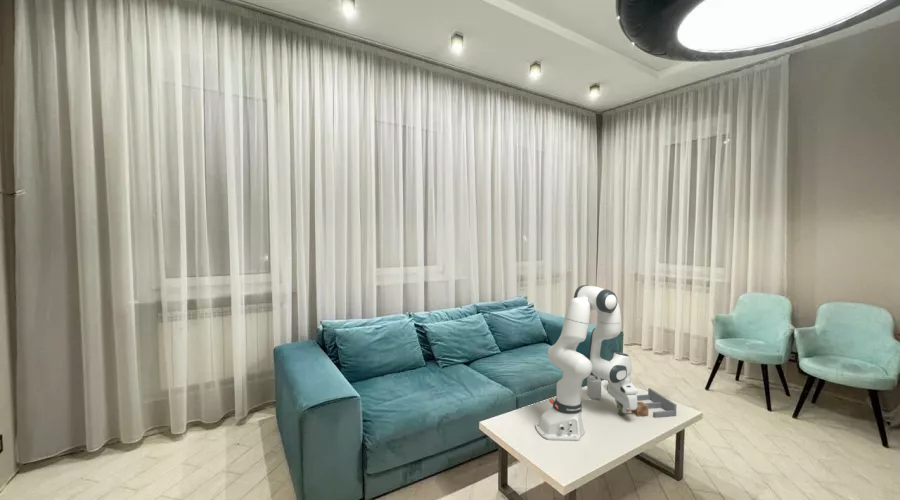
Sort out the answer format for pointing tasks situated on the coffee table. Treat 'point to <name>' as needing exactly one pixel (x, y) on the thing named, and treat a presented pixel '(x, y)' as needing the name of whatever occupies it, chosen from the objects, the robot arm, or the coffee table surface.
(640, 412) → the brown green tall piece
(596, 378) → the can
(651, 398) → the lane rack
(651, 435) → the coffee table surface
